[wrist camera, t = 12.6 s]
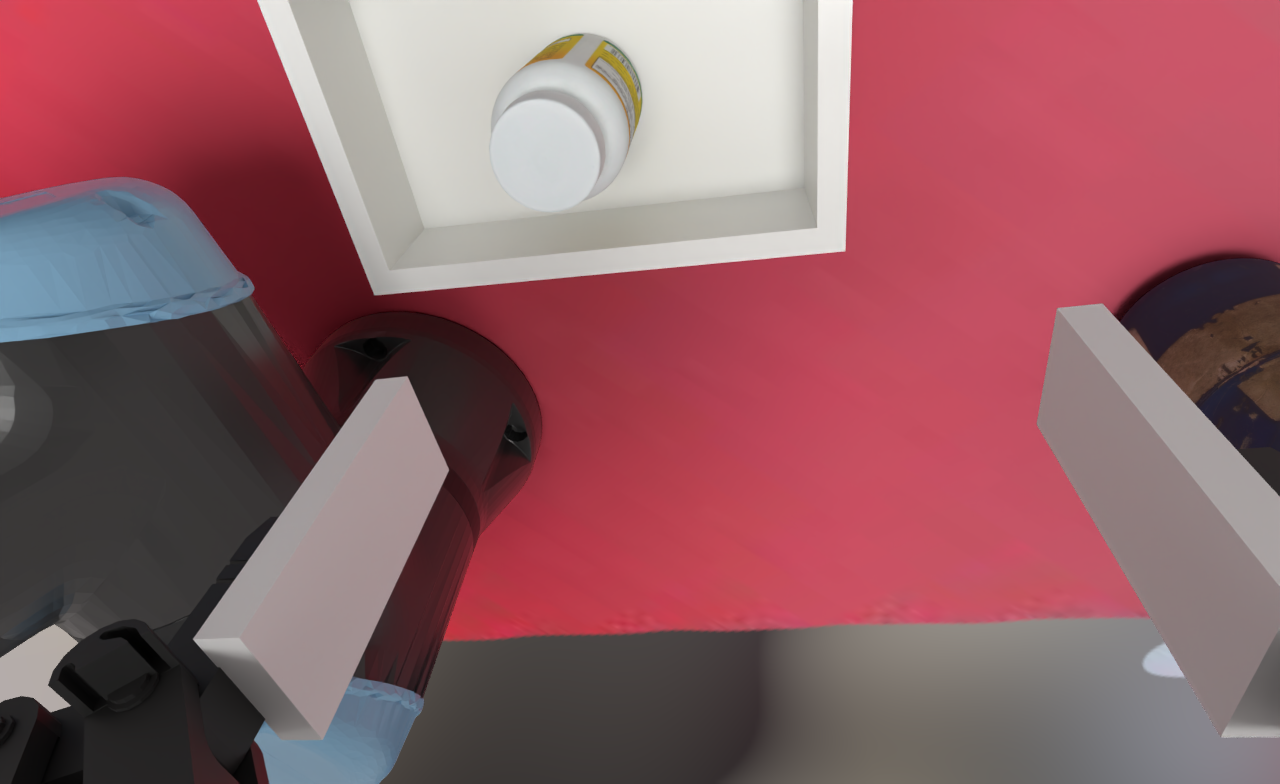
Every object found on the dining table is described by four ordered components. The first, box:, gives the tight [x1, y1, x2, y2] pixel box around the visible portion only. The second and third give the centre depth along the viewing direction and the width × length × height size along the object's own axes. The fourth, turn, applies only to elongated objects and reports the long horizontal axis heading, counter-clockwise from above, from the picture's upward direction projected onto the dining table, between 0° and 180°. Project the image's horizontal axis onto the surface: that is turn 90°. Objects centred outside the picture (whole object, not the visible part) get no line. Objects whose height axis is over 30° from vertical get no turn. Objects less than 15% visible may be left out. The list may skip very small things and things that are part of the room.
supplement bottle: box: [489, 33, 643, 212], centre depth 28 cm, size 5×5×10 cm
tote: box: [257, 0, 853, 296], centre depth 31 cm, size 22×14×6 cm, turn 98°
